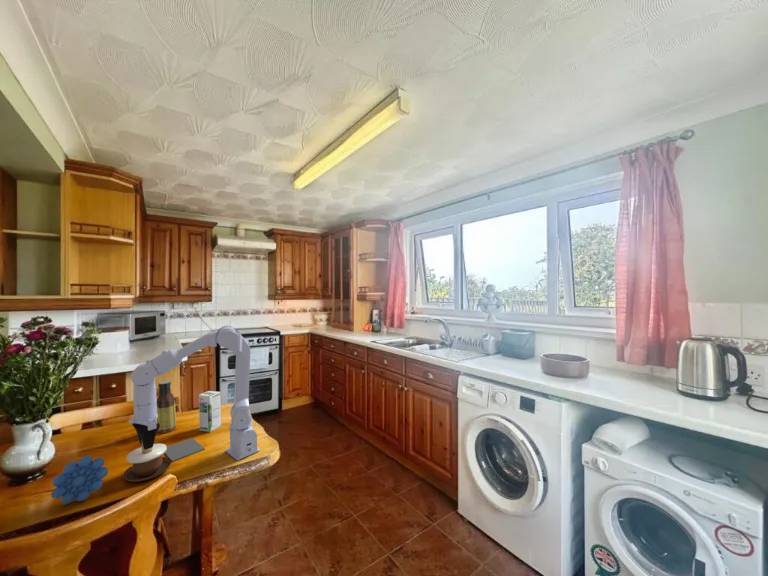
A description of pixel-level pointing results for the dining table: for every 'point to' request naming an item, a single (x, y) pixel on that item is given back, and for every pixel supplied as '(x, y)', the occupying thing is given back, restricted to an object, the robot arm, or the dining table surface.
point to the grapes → (79, 479)
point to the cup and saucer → (147, 469)
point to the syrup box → (209, 411)
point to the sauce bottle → (166, 408)
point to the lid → (146, 453)
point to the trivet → (183, 449)
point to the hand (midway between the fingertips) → (146, 445)
